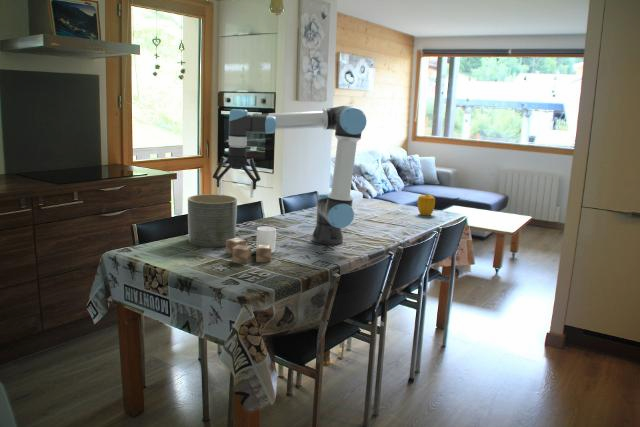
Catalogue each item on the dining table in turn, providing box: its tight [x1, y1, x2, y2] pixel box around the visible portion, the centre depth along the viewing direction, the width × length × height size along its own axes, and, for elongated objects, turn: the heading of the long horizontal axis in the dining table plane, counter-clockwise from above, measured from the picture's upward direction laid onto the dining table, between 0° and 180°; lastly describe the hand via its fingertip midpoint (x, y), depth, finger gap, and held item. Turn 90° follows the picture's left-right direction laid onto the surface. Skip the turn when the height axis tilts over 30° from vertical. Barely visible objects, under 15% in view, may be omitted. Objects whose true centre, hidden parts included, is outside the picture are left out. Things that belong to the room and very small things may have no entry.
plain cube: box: [232, 245, 252, 265], centre depth 226 cm, size 6×6×6 cm
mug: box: [255, 225, 277, 254], centre depth 243 cm, size 12×8×10 cm
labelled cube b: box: [255, 244, 272, 263], centre depth 229 cm, size 6×6×6 cm
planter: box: [187, 193, 238, 248], centre depth 252 cm, size 22×22×20 cm
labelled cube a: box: [225, 237, 247, 256], centre depth 237 cm, size 6×6×6 cm
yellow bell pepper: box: [417, 194, 436, 217], centre depth 338 cm, size 11×11×13 cm
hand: (236, 196), depth 235 cm, fingers open, 13 cm apart
